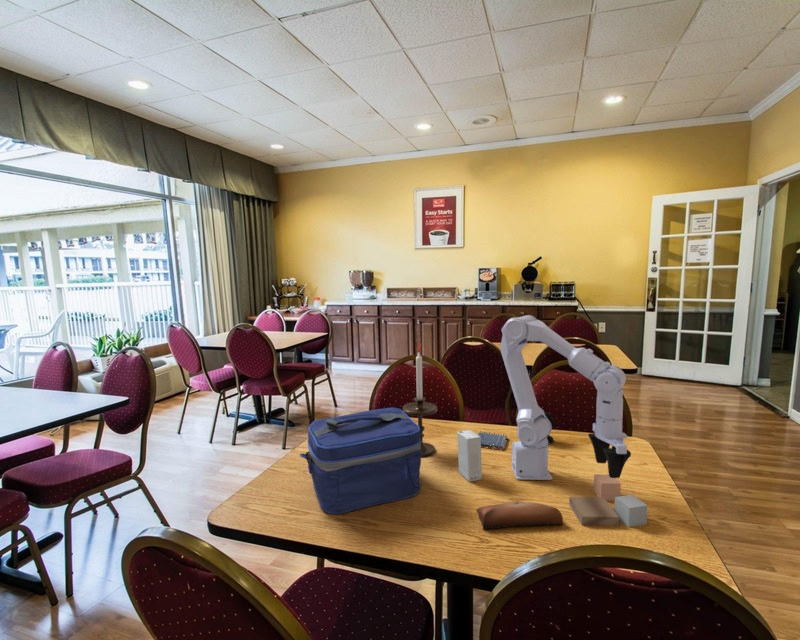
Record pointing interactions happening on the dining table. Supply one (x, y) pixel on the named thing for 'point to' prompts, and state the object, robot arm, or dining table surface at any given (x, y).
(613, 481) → the terracotta cube
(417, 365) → the candlestick
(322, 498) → the lunch bag
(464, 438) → the skincare box
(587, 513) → the walnut slab
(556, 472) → the dining table surface
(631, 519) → the grey cube
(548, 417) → the webcam
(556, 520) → the sunglasses case
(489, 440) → the woven mat
